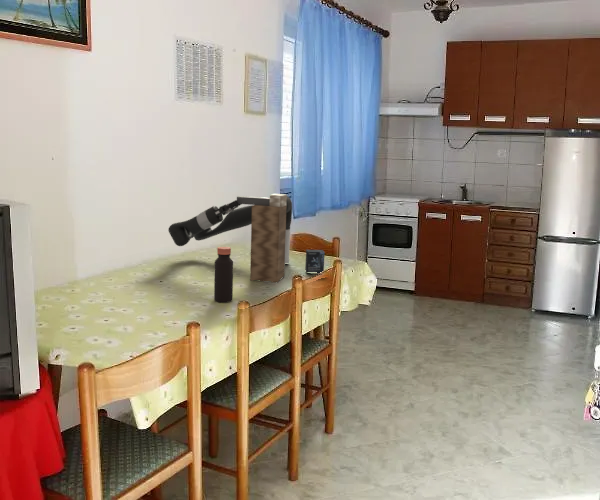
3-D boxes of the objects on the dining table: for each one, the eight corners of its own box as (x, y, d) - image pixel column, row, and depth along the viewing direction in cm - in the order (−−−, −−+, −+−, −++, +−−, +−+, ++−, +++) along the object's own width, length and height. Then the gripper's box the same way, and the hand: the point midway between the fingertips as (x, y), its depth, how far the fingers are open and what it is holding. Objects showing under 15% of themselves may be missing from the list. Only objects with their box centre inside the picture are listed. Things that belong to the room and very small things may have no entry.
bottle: (229, 303, 235) (230, 250, 231) (211, 301, 236) (212, 248, 232) (234, 299, 241) (235, 246, 238) (217, 297, 242) (218, 245, 239)
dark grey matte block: (236, 203, 273) (236, 196, 272) (239, 202, 277) (239, 196, 276) (279, 206, 269) (279, 199, 268) (282, 205, 273) (282, 198, 272)
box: (306, 274, 288) (307, 251, 286) (304, 272, 294) (305, 249, 292) (323, 274, 289) (324, 251, 288) (321, 272, 295) (322, 249, 293)
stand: (250, 280, 273) (252, 194, 266) (258, 274, 284) (260, 192, 278) (278, 282, 270) (281, 196, 264) (285, 276, 282) (287, 193, 275)
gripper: (199, 211, 272) (231, 194, 267) (211, 208, 285) (241, 192, 281) (207, 227, 272) (239, 210, 268) (219, 223, 286) (249, 207, 281)
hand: (240, 201), depth 274 cm, fingers open, 8 cm apart
